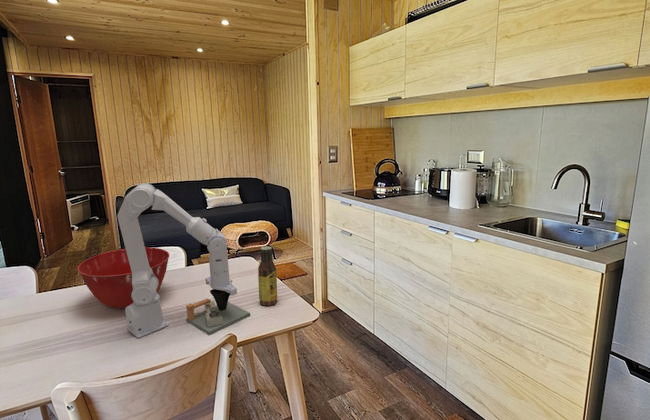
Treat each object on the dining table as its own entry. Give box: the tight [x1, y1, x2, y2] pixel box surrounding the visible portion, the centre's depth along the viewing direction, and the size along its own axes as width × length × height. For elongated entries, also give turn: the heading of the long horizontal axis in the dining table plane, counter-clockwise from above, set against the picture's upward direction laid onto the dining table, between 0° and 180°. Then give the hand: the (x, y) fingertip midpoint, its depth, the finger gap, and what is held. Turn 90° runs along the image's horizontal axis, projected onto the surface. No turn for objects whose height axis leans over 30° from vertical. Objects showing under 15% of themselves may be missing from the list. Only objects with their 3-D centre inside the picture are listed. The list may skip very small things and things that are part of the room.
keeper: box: [185, 298, 212, 320], centre depth 119 cm, size 8×2×5 cm, turn 139°
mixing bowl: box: [77, 246, 170, 310], centre depth 131 cm, size 28×28×15 cm
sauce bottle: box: [257, 246, 278, 307], centre depth 127 cm, size 6×6×20 cm
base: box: [185, 301, 251, 336], centre depth 118 cm, size 15×13×6 cm
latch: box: [204, 300, 223, 327], centre depth 117 cm, size 12×4×2 cm, turn 25°
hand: (222, 309), depth 120 cm, fingers closed
